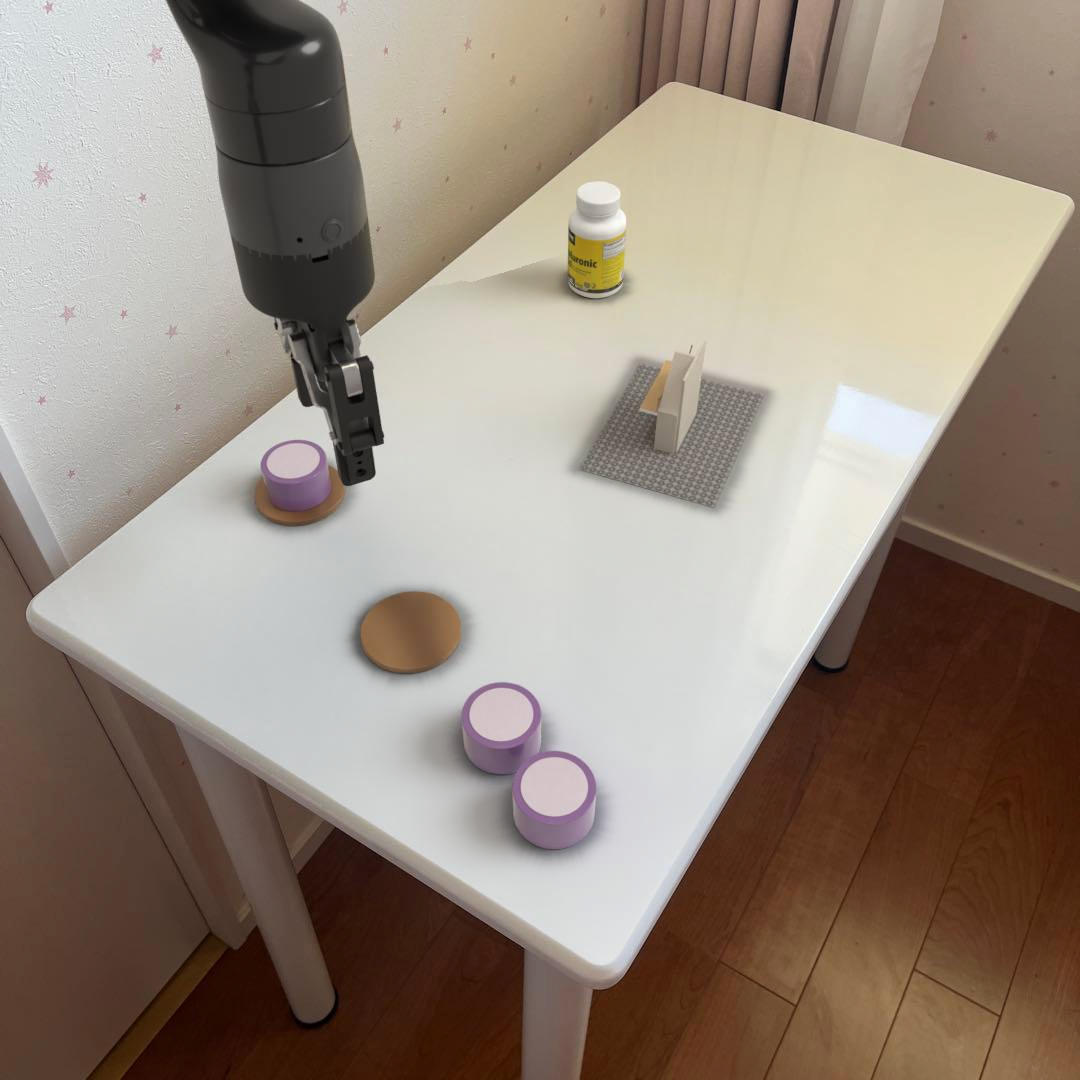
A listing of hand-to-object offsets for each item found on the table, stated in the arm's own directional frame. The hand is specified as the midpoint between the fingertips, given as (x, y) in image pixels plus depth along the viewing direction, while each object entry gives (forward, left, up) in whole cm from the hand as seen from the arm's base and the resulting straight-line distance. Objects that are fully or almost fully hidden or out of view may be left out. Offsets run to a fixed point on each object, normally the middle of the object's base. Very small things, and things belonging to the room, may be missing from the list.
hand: (336, 439), depth 72 cm
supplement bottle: (+39, +15, -13) cm, 44 cm away
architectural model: (+29, -5, -13) cm, 32 cm away
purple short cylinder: (+1, +10, -13) cm, 16 cm away
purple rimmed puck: (-3, -24, -13) cm, 28 cm away
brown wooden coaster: (-1, -7, -13) cm, 15 cm away
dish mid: (-2, -18, -13) cm, 22 cm away
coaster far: (+1, +10, -13) cm, 16 cm away
